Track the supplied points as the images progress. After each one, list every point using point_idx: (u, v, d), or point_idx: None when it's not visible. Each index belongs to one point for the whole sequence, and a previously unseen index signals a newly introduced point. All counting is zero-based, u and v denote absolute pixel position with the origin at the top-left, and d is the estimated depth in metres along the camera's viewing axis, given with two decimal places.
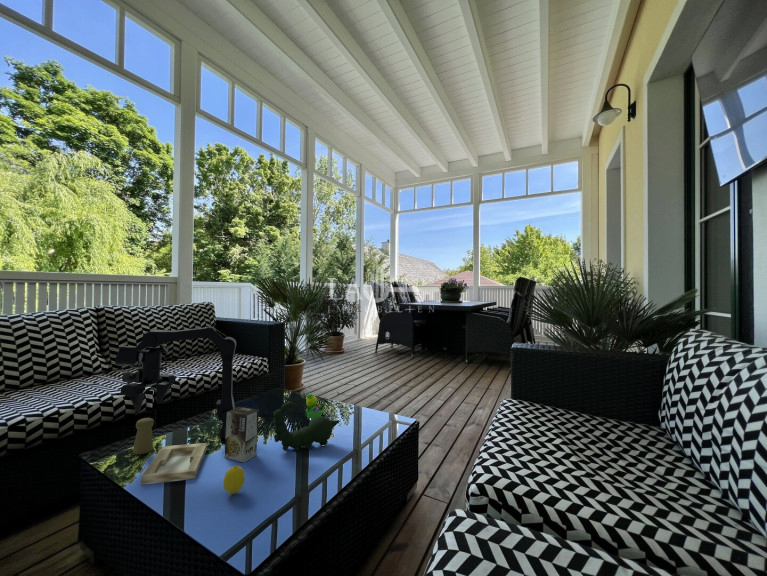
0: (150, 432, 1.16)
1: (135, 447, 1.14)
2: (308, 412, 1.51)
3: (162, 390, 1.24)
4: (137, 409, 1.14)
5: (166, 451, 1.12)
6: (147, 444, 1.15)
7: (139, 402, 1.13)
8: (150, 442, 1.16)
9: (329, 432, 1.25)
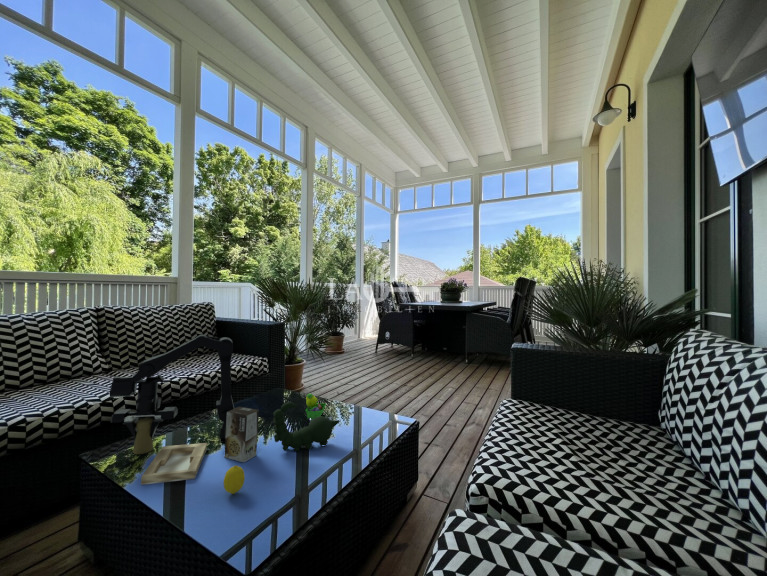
0: (150, 432, 1.16)
1: (135, 447, 1.14)
2: (308, 412, 1.51)
3: None
4: None
5: (166, 451, 1.12)
6: (147, 444, 1.15)
7: (130, 430, 1.14)
8: (150, 442, 1.16)
9: (329, 432, 1.25)
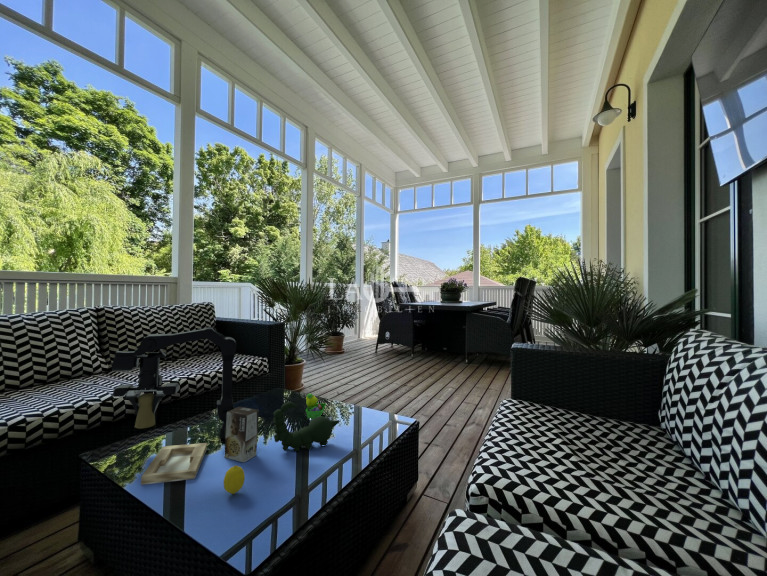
0: (152, 407, 1.17)
1: (137, 421, 1.14)
2: (308, 412, 1.51)
3: None
4: None
5: (166, 451, 1.12)
6: (149, 418, 1.15)
7: (133, 405, 1.14)
8: (152, 417, 1.16)
9: (329, 432, 1.25)
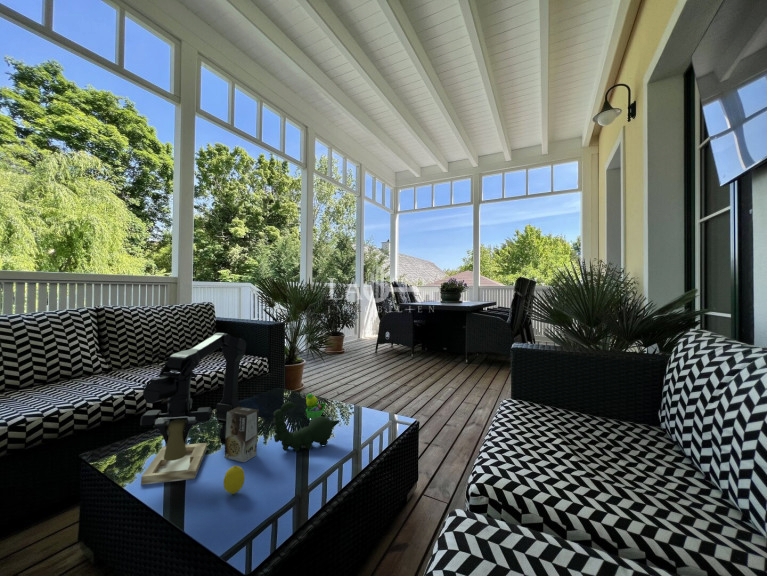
0: (183, 435, 1.04)
1: (167, 452, 1.01)
2: (308, 412, 1.51)
3: None
4: None
5: None
6: (180, 448, 1.02)
7: (162, 434, 1.01)
8: (183, 447, 1.03)
9: (329, 432, 1.25)
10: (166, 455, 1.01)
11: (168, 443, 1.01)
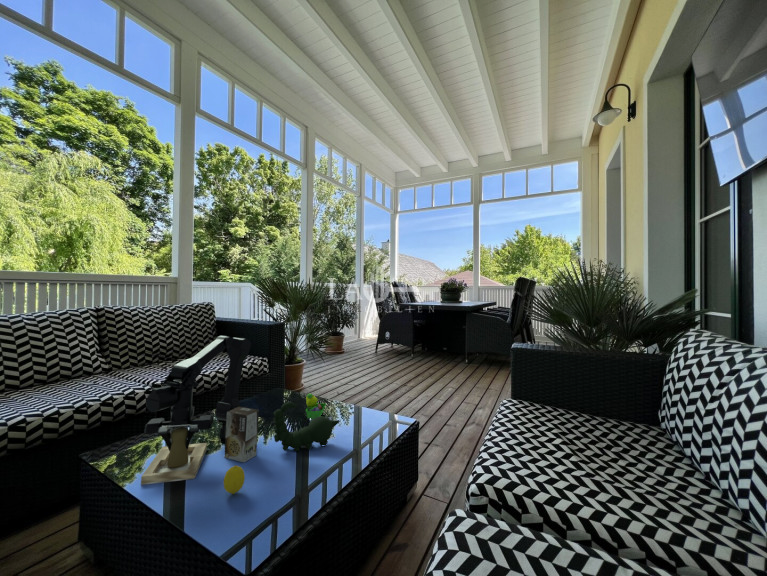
0: (185, 443, 1.08)
1: (170, 459, 1.05)
2: (308, 412, 1.51)
3: None
4: None
5: (166, 451, 1.12)
6: (183, 455, 1.06)
7: None
8: (186, 454, 1.07)
9: (329, 432, 1.25)
10: (169, 462, 1.05)
11: (171, 450, 1.05)
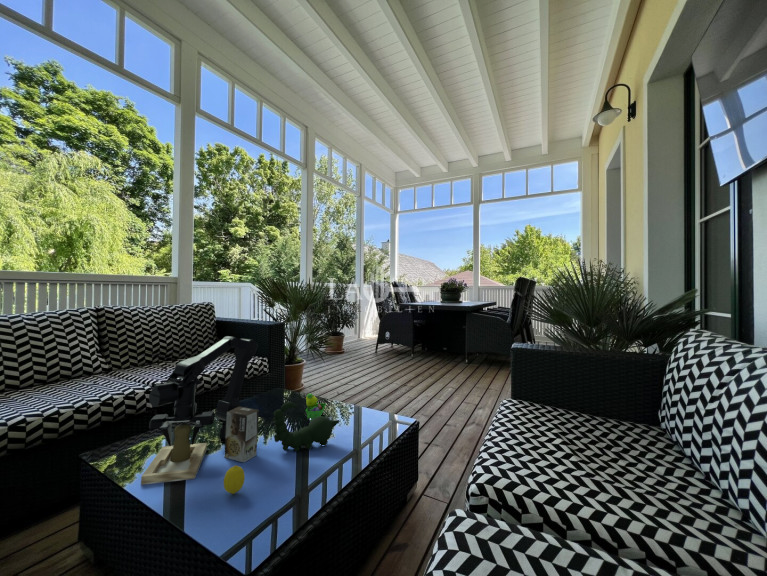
0: (188, 439, 1.12)
1: (173, 455, 1.09)
2: (308, 412, 1.51)
3: None
4: None
5: (166, 451, 1.12)
6: (186, 451, 1.10)
7: None
8: (188, 449, 1.11)
9: (329, 432, 1.25)
10: (173, 457, 1.09)
11: (174, 446, 1.09)
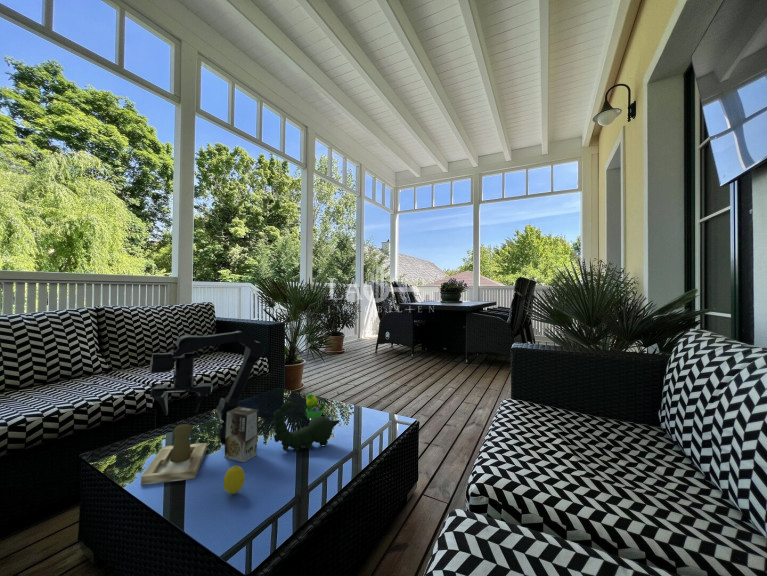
0: (188, 439, 1.12)
1: (173, 455, 1.09)
2: (308, 412, 1.51)
3: (197, 399, 1.19)
4: None
5: (166, 451, 1.12)
6: (186, 451, 1.10)
7: (162, 406, 1.14)
8: (188, 449, 1.11)
9: (329, 432, 1.25)
10: (173, 457, 1.09)
11: (174, 446, 1.09)
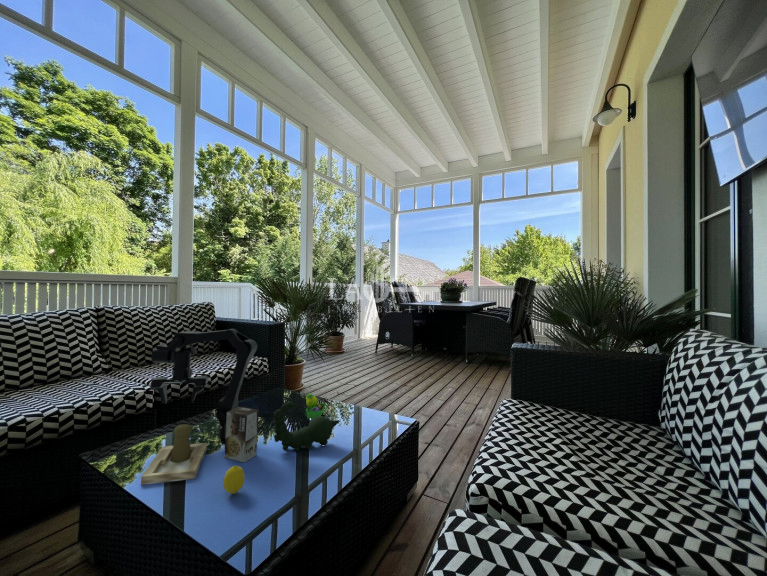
0: (188, 439, 1.12)
1: (173, 455, 1.09)
2: (308, 412, 1.51)
3: (193, 390, 1.29)
4: None
5: (166, 451, 1.12)
6: (186, 451, 1.10)
7: (161, 395, 1.25)
8: (188, 449, 1.11)
9: (329, 432, 1.25)
10: (173, 457, 1.09)
11: (174, 446, 1.09)
